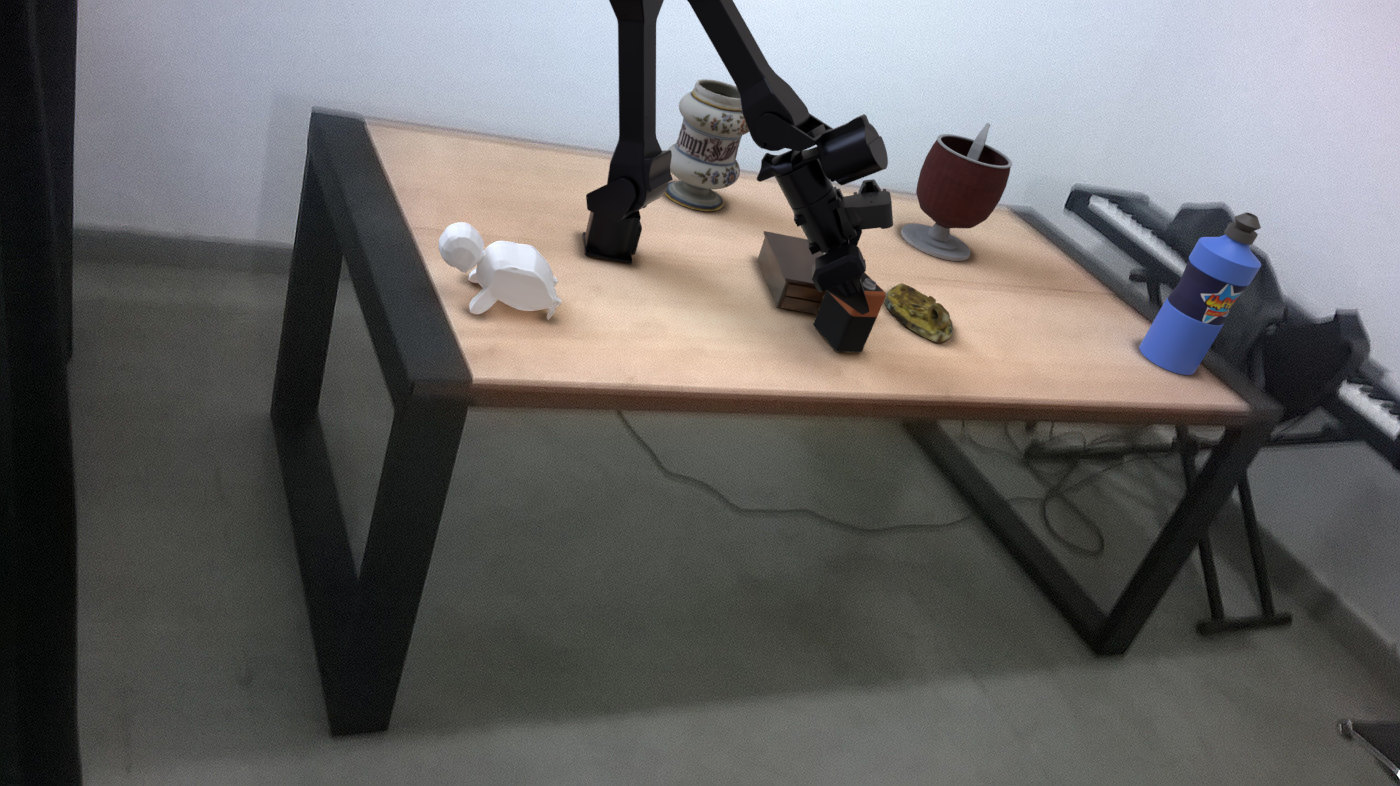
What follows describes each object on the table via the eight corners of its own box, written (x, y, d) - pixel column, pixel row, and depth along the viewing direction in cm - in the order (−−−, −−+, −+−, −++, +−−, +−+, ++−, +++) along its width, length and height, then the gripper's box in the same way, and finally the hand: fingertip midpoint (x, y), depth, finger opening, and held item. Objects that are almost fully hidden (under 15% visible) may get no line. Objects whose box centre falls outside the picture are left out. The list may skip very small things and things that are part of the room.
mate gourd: (967, 272, 175) (1018, 158, 165) (888, 239, 178) (934, 126, 167) (980, 244, 188) (1028, 138, 178) (906, 215, 191) (950, 108, 180)
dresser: (776, 311, 143) (787, 281, 141) (754, 258, 156) (764, 230, 154) (861, 326, 147) (873, 297, 144) (833, 273, 159) (844, 246, 157)
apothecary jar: (692, 178, 177) (722, 72, 167) (744, 210, 171) (778, 103, 162) (640, 184, 168) (669, 73, 159) (693, 218, 162) (726, 106, 153)
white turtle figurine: (530, 309, 132) (420, 252, 125) (568, 257, 129) (458, 195, 122) (535, 346, 125) (419, 287, 118) (575, 291, 122) (458, 228, 115)
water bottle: (1207, 378, 165) (1297, 234, 152) (1159, 371, 162) (1246, 224, 149) (1174, 346, 173) (1256, 206, 160) (1127, 339, 170) (1207, 196, 157)
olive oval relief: (867, 293, 159) (911, 346, 148) (875, 265, 157) (920, 317, 145) (922, 293, 162) (969, 345, 151) (931, 266, 160) (979, 316, 148)
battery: (837, 325, 144) (863, 261, 139) (862, 354, 139) (891, 288, 134) (810, 325, 142) (836, 259, 137) (836, 353, 137) (864, 286, 132)
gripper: (876, 194, 120) (930, 306, 127) (868, 143, 136) (916, 244, 143) (787, 235, 124) (844, 342, 130) (790, 181, 140) (840, 278, 146)
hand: (864, 299), depth 137 cm, fingers closed on battery, 7 cm apart
